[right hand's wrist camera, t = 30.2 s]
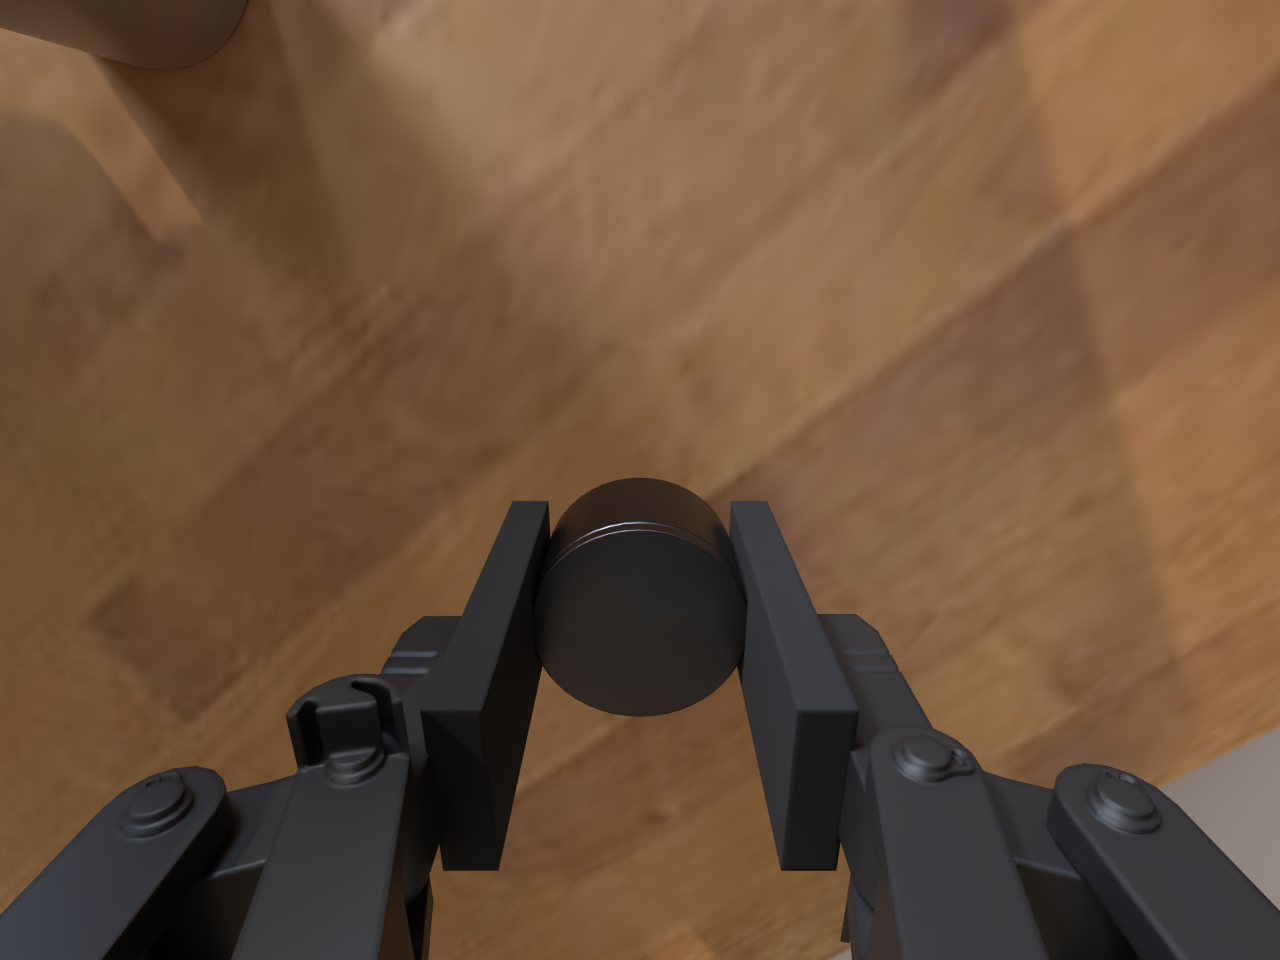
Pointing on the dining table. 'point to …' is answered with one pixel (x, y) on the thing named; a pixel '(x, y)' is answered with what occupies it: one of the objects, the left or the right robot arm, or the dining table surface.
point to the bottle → (129, 27)
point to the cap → (639, 600)
